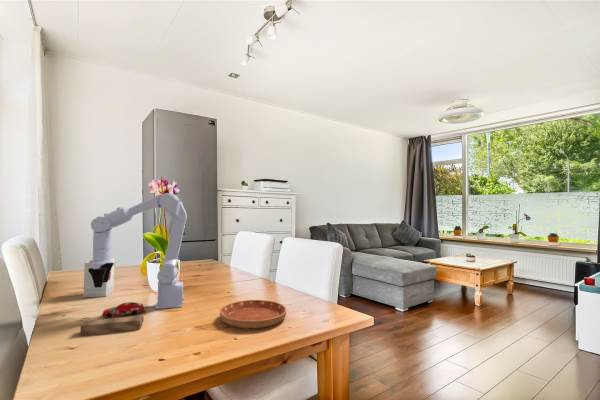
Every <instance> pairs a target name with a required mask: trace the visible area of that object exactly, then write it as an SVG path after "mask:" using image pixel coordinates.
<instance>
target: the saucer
mask: <svg viewBox="0 0 600 400" xmlns="http://www.w3.org/2000/svg"><path fill="white" fill-rule="evenodd" d="M219 314H220V315H219V317H220V319H221V321H223V322H224V323H226V324H227V325H229V326H231V327H235V328H240V329H249V328H253V329H262V328H267V327H271V326H273V325H276V324H277V323H279V322H280V321H281V322H282V321H283V320H284V319H285V318H286V316H287V308H286V306H285V305H283V304H281V303H279V302H276V301H272V300H265V299H249V300H247V299H245V300H239V301H234V302H230V303H228V304H226V305H224V306H223V307H221V309H220V310H219Z"/></svg>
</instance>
